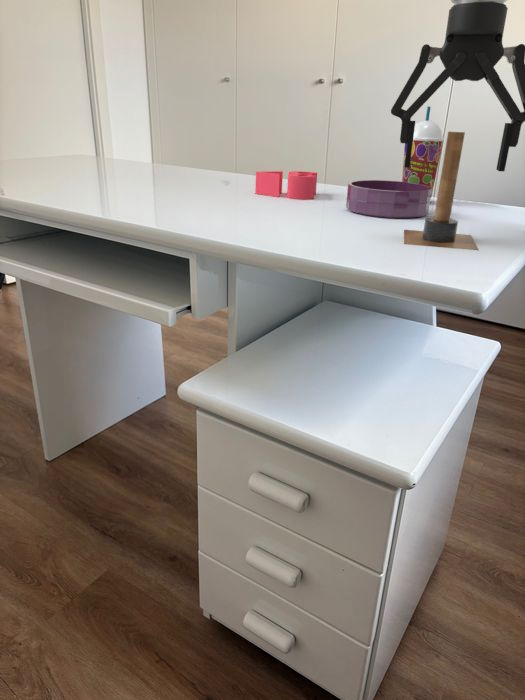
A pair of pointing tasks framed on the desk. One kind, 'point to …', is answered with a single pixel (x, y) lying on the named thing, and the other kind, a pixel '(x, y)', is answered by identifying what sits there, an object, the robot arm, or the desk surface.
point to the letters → (298, 184)
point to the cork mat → (459, 243)
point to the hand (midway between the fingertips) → (452, 168)
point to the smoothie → (424, 153)
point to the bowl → (388, 198)
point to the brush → (446, 194)
